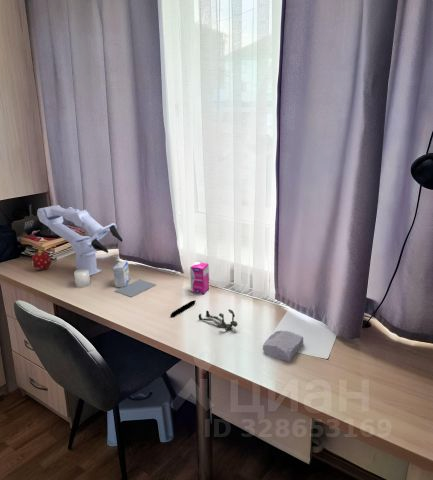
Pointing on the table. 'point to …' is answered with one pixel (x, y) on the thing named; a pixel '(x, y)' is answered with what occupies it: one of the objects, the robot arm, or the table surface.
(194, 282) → the supplement box
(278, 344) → the stone block
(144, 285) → the felt mat
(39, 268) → the christmas ornament
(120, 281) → the medicine box
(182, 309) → the pen
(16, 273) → the table surface
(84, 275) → the white round lump
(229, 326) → the zombie figurine
